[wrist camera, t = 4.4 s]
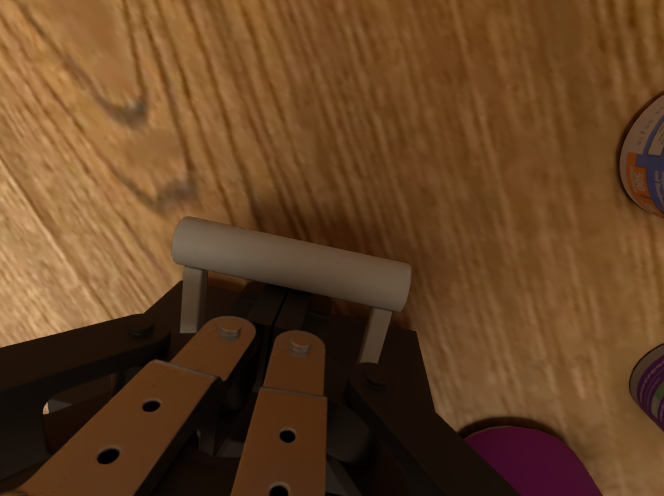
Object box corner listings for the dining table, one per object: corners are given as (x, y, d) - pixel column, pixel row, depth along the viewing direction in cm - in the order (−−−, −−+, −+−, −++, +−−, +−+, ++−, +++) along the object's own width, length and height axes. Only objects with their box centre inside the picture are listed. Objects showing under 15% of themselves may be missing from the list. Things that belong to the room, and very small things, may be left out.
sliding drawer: (186, 176, 16) (28, 229, 8) (448, 232, 15) (524, 337, 8) (169, 478, 22) (72, 659, 15) (354, 520, 22) (349, 723, 15)
